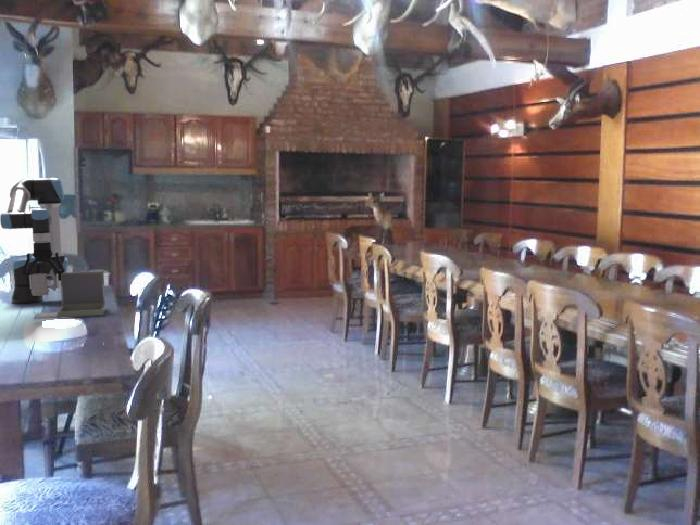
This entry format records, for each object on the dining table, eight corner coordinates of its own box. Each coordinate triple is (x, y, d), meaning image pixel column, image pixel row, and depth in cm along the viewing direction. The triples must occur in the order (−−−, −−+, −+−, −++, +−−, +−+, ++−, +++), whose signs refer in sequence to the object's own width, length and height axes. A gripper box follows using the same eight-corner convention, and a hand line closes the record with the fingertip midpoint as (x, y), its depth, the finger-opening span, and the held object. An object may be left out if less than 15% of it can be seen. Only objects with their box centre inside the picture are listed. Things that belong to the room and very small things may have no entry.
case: (62, 311, 364) (60, 272, 361) (105, 308, 369) (103, 270, 367) (58, 318, 346) (55, 278, 343) (103, 315, 351) (101, 276, 349)
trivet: (36, 314, 355) (36, 313, 355) (58, 313, 358) (58, 312, 358) (33, 318, 346) (33, 317, 346) (56, 317, 348) (56, 316, 348)
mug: (30, 294, 351) (29, 269, 349) (57, 292, 356) (55, 267, 355) (32, 296, 344) (30, 270, 343) (59, 294, 350) (58, 269, 348)
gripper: (13, 243, 341) (16, 290, 343) (67, 241, 347) (70, 288, 350) (16, 242, 348) (19, 288, 351) (69, 240, 354) (72, 285, 357)
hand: (44, 288), depth 350 cm, fingers closed on mug, 11 cm apart
